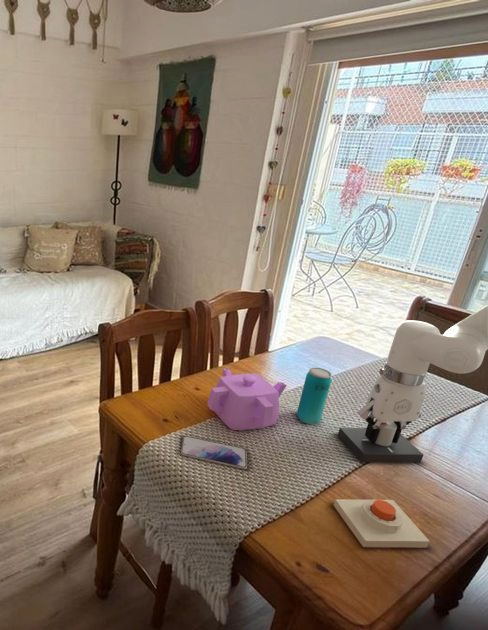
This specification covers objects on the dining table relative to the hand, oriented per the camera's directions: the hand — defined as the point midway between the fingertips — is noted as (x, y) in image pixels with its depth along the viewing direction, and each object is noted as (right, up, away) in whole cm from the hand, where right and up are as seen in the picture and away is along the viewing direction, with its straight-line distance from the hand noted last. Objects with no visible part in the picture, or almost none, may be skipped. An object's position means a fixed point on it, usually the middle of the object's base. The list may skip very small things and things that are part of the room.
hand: (380, 438), depth 107 cm
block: (-15, -12, -20) cm, 28 cm away
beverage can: (-11, +1, +12) cm, 17 cm away
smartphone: (-41, -4, -1) cm, 41 cm away
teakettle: (-28, +2, +14) cm, 32 cm away
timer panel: (0, -3, +1) cm, 4 cm away
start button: (-15, -9, -21) cm, 27 cm away
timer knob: (0, 0, 0) cm, 0 cm away
